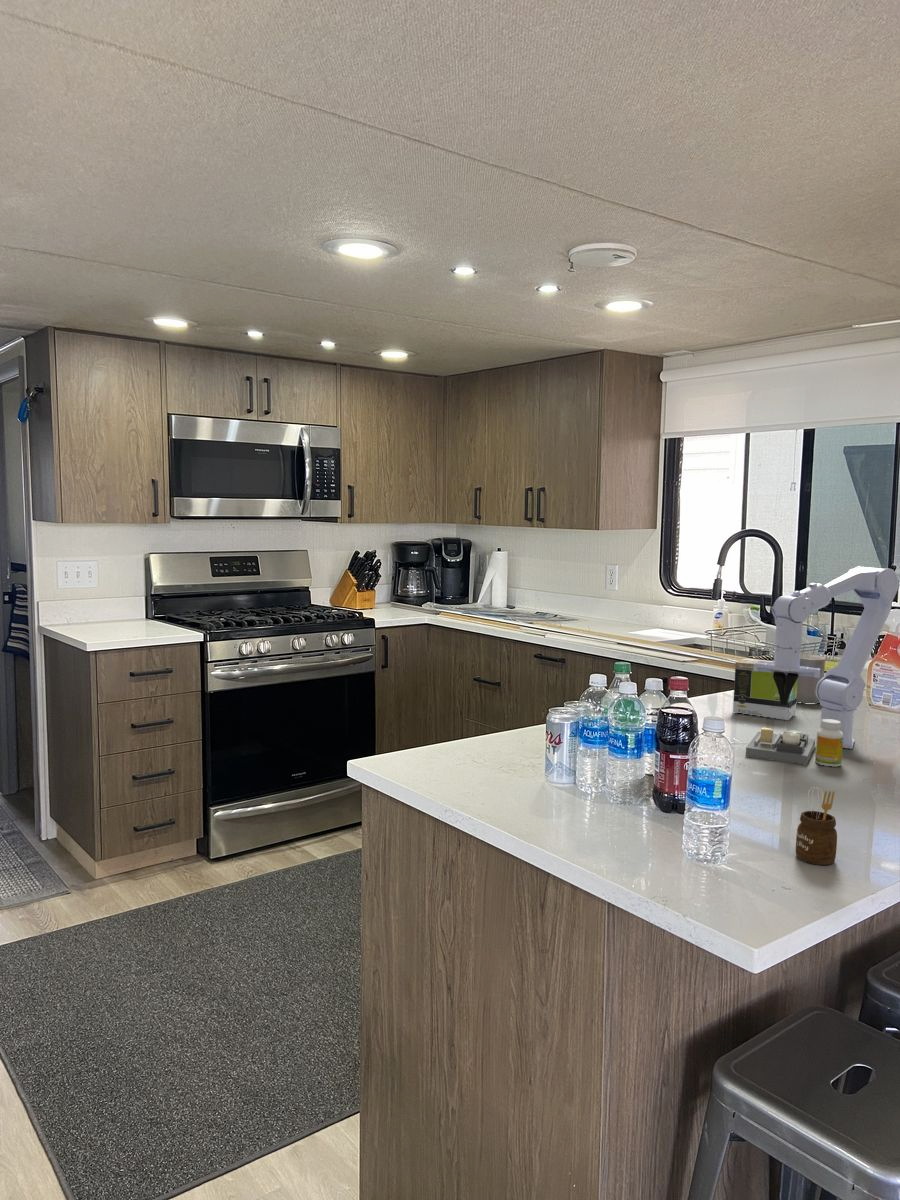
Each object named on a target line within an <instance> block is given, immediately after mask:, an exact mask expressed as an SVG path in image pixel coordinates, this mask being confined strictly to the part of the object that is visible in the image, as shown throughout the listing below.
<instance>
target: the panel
mask: <svg viewBox="0 0 900 1200" xmlns="http://www.w3.org/2000/svg"><path fill="white" fill-rule="evenodd" d="M783 733H787V731H783V732H781V733H779V732H778V733H773V738H772V743H765V742H760V738H761V731H757V733H756V734H755V735H754V737H753V738H752V739H751V741H750V742H749V743H748V745H747V746H746V747H745V757H747V758H748V757H750V758H755V759H762V760H769V761H775V762H782V761H783V763H789V764H795V763H797V765H802V764H805V765H804V766H807V765H808V764H809V762H808V761H810V759H811V757H812V755H811V754H813V753H812V752H814V750H815V748H816V739H815V738H809V734H805V733H803V738H800V742H799V746H796V745H789V744H783V743H782V740H783ZM814 747H815V748H814ZM807 763H808V764H807Z"/></svg>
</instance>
